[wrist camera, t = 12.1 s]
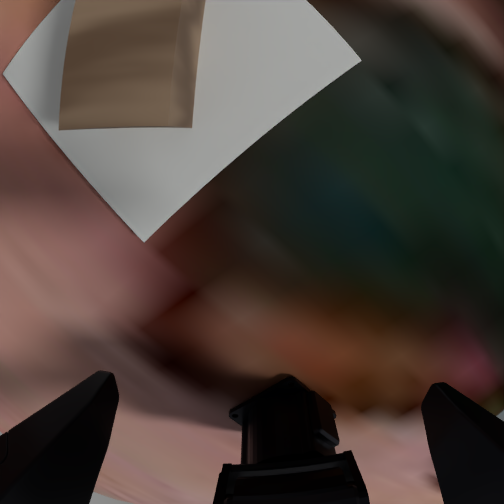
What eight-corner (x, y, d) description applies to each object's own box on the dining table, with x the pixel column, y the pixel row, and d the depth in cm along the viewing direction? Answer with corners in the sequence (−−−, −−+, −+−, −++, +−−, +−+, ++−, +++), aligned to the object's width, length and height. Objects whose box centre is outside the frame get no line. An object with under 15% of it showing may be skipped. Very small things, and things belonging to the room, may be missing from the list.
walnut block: (167, 126, 11) (198, -79, 8) (58, 130, 11) (93, -62, 8) (192, 128, 16) (210, -33, 12) (106, 128, 16) (127, -26, 12)
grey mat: (147, 238, 19) (144, 242, 18) (9, 74, 15) (2, 73, 14) (357, 63, 15) (361, 60, 14) (182, -88, 11) (179, -94, 10)
